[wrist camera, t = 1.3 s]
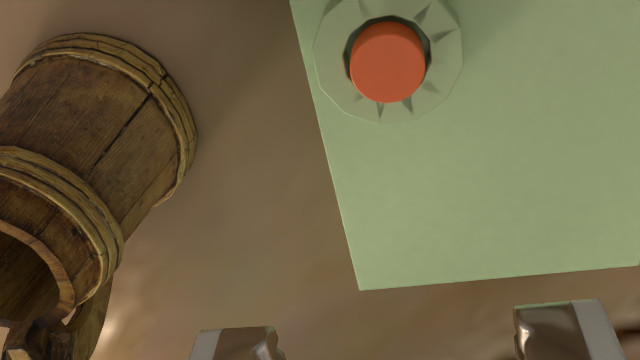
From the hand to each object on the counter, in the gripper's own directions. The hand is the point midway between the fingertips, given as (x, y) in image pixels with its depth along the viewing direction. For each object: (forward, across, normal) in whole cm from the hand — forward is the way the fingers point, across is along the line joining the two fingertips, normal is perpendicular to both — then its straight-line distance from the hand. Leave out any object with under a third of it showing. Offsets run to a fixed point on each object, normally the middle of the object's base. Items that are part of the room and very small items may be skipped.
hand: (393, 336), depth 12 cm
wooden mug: (+17, +14, +5) cm, 23 cm away
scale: (+17, -4, +6) cm, 18 cm away
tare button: (+14, 0, 0) cm, 14 cm away
